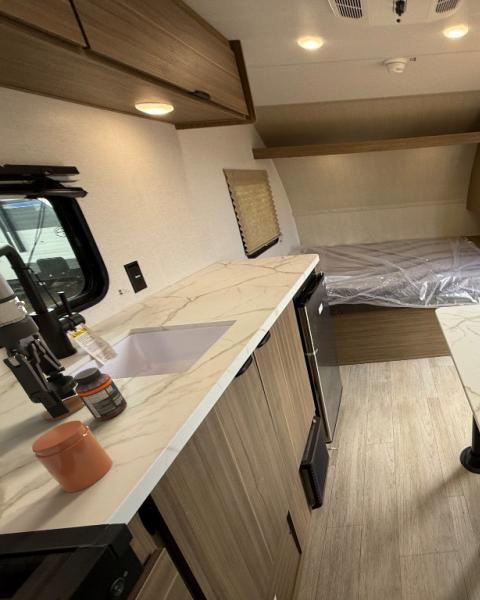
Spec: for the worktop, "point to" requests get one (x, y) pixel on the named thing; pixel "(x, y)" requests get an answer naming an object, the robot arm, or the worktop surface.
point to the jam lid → (60, 386)
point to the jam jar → (72, 455)
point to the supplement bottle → (99, 394)
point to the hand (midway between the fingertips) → (65, 405)
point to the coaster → (72, 405)
